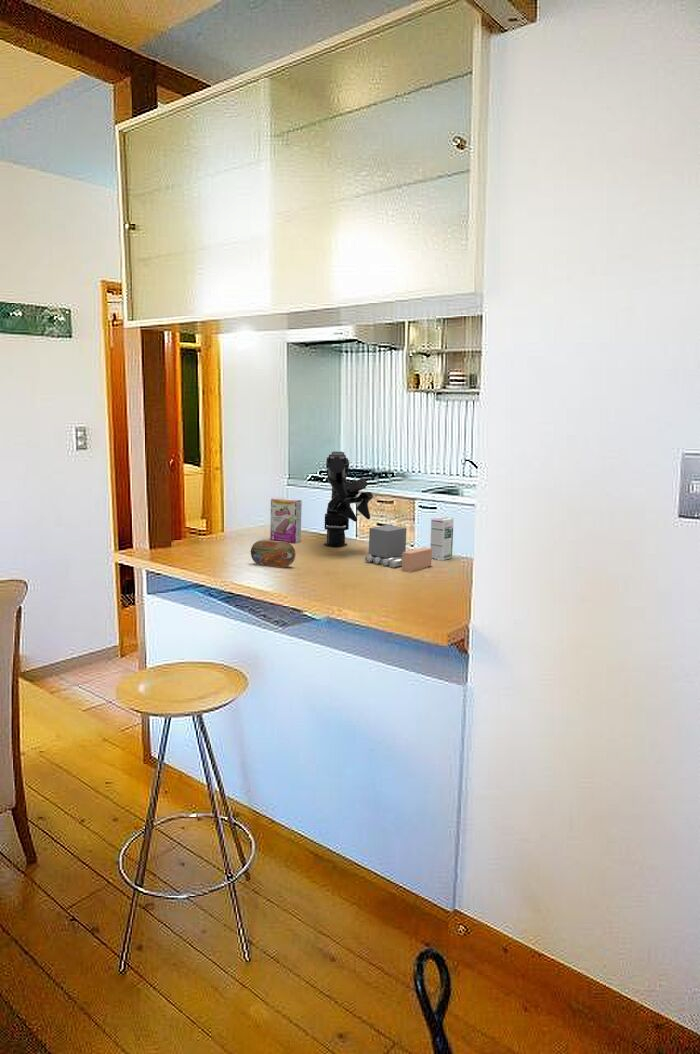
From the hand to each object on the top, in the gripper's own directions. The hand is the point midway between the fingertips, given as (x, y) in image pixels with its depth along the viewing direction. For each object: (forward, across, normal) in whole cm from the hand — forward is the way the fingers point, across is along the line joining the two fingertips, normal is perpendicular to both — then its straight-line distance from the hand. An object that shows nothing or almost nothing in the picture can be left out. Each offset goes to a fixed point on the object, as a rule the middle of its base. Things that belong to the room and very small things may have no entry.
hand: (362, 519), depth 246 cm
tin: (+2, -33, +16) cm, 37 cm away
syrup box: (+24, +19, -5) cm, 31 cm away
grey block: (+15, 0, -1) cm, 15 cm away
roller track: (+19, 0, 0) cm, 19 cm away
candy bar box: (-17, -2, +36) cm, 40 cm away
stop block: (+26, 0, -8) cm, 28 cm away
